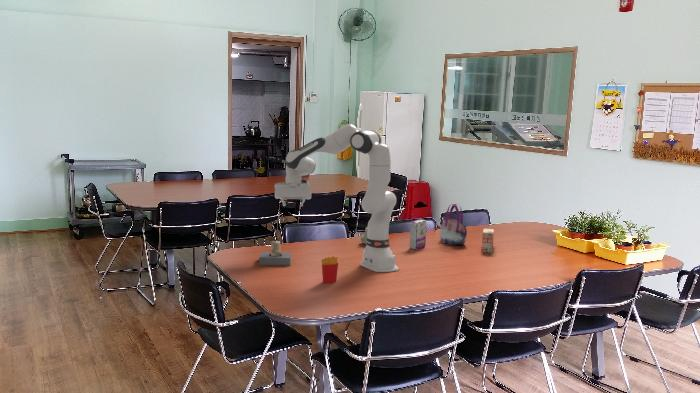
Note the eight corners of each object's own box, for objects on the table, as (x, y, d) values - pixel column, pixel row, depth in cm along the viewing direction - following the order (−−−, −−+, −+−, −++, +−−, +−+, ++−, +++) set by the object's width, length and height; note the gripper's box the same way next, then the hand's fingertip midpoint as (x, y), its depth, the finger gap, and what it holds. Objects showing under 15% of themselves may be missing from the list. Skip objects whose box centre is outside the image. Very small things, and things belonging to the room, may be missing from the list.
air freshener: (358, 244, 359) (359, 228, 357) (364, 241, 366) (364, 225, 365) (374, 246, 354) (375, 230, 352) (380, 244, 361) (381, 228, 360)
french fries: (334, 279, 282) (335, 255, 281) (338, 281, 279) (339, 257, 277) (319, 281, 278) (320, 257, 276) (323, 284, 274) (324, 259, 273)
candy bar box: (418, 245, 361) (419, 219, 359) (425, 246, 358) (427, 220, 356) (408, 248, 352) (410, 221, 350) (416, 249, 349) (417, 222, 347)
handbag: (434, 240, 376) (436, 202, 373) (445, 239, 382) (448, 201, 379) (459, 247, 359) (462, 207, 356) (470, 245, 365) (473, 206, 362)
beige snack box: (482, 244, 371) (484, 225, 369) (493, 245, 369) (494, 226, 367) (481, 252, 350) (482, 232, 348) (491, 253, 349) (493, 232, 347)
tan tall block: (279, 259, 311) (280, 241, 310) (279, 261, 308) (280, 242, 306) (271, 259, 311) (271, 241, 309) (270, 261, 307) (271, 242, 306)
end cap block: (291, 259, 316) (291, 252, 315) (290, 265, 304) (290, 258, 303) (260, 259, 315) (261, 251, 314) (259, 265, 303) (259, 257, 302)
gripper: (274, 180, 324) (273, 203, 318) (311, 180, 325) (311, 203, 320) (274, 184, 329) (273, 207, 324) (311, 185, 331) (311, 208, 325)
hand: (292, 205), depth 322 cm, fingers open, 8 cm apart
